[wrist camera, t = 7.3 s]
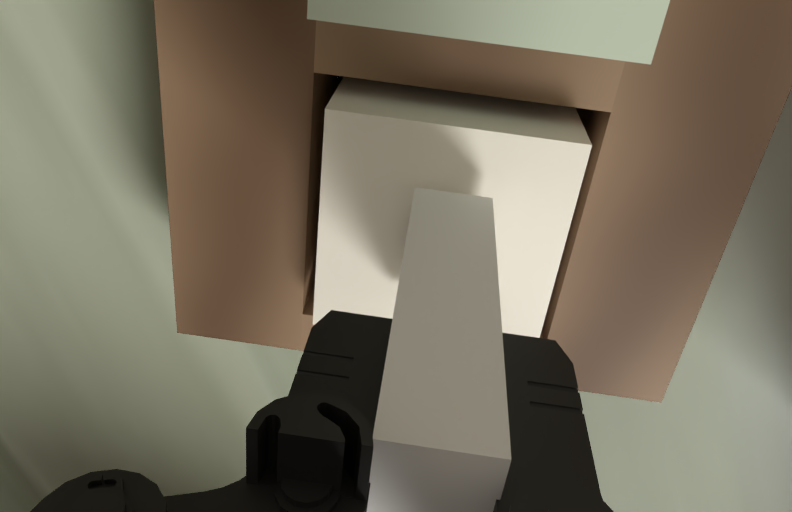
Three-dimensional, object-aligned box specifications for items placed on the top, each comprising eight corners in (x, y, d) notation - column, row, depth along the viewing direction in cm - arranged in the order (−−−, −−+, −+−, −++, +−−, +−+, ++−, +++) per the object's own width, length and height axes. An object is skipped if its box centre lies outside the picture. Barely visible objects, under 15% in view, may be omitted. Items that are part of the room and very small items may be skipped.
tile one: (335, 257, 18) (310, 329, 15) (348, 67, 15) (322, 112, 12) (524, 284, 18) (535, 361, 15) (570, 97, 15) (594, 148, 12)
